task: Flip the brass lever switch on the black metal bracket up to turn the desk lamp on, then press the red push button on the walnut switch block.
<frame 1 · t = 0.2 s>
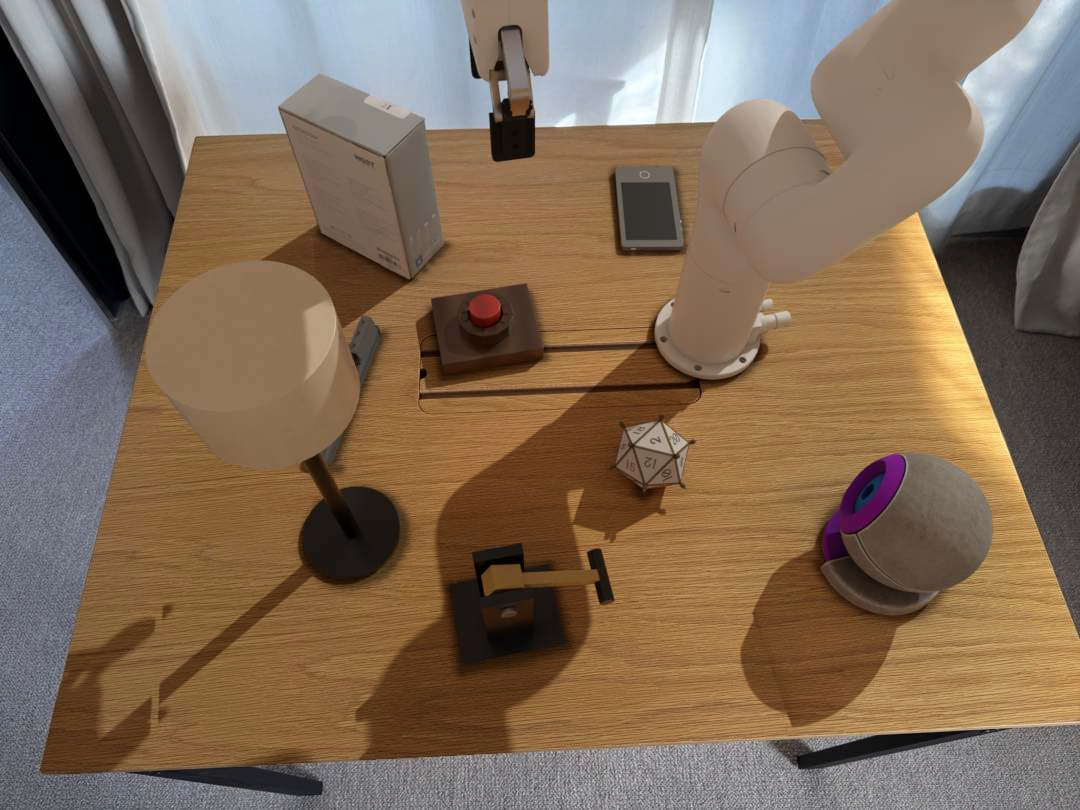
hand: (501, 114, 59), 37 cm above the table, tool pointing down, fingers open, 9 cm apart
red push button: (485, 310, 90), point 4 cm above the table, slide at 0.1 cm
switch bracket: (506, 616, 76), on the table
hard drive box: (382, 240, 102), on the table
lamp switch: (549, 579, 69), point 9 cm above the table, hinge at -25.0°
smartphone: (647, 210, 104), on the table
game die: (646, 472, 84), on the table
button block: (487, 333, 94), on the table
grey long bar: (351, 399, 89), on the table
desk lamp: (354, 536, 80), on the table
webcam: (878, 554, 80), on the table
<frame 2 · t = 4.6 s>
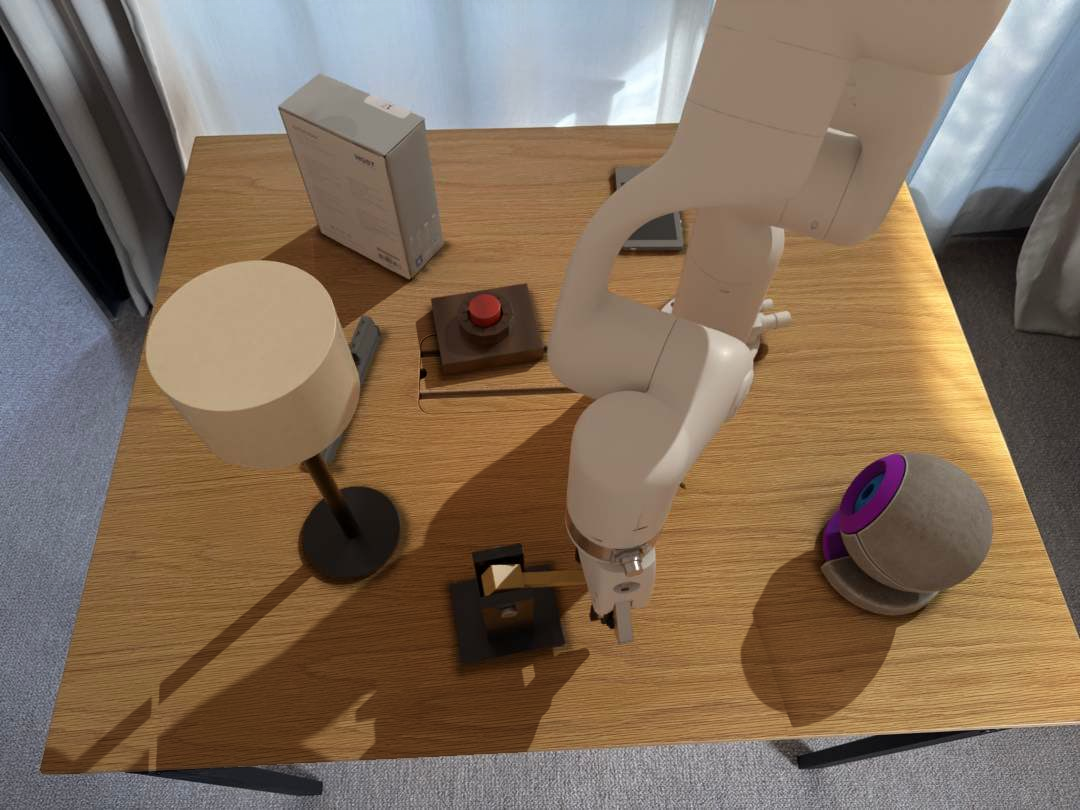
hand: (598, 585, 73), 4 cm above the table, tool pointing down, fingers closed on lamp switch, 5 cm apart
lamp switch: (549, 579, 69), point 9 cm above the table, hinge at -25.0°, touching gripper
everything else where it was.
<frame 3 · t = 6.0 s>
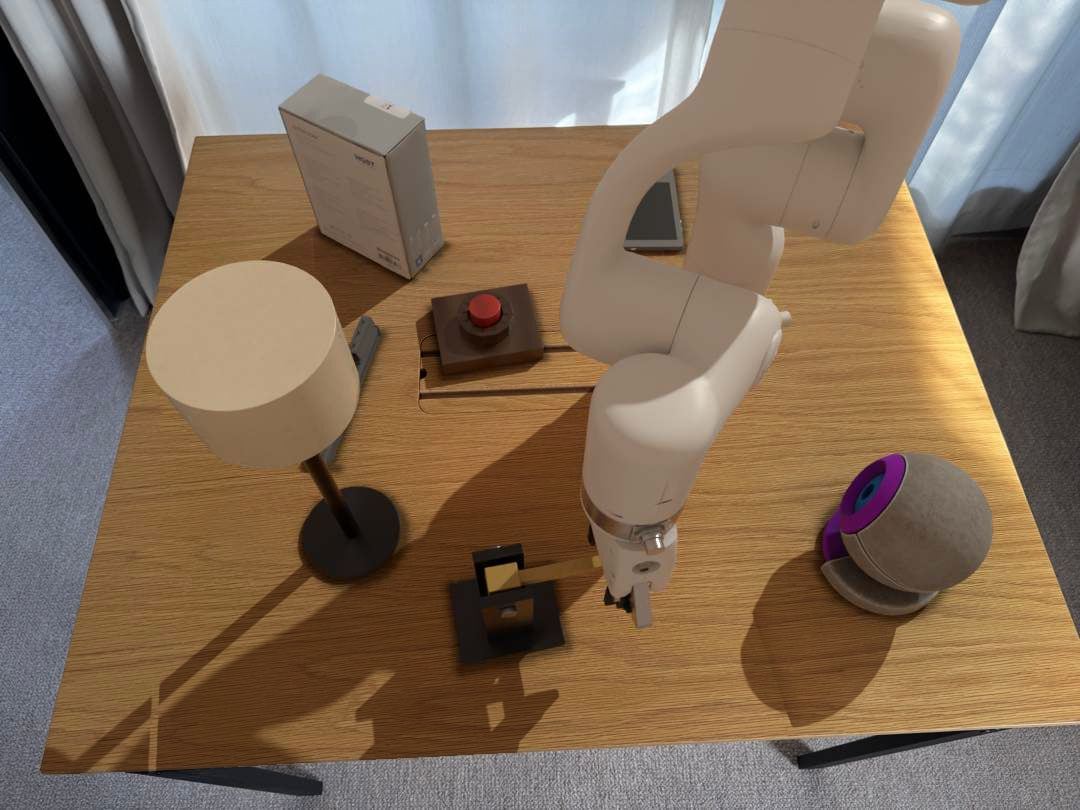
hand: (612, 567, 70), 8 cm above the table, tool pointing down, fingers closed on lamp switch, 5 cm apart
lamp switch: (555, 571, 67), point 11 cm above the table, hinge at -1.5°, touching gripper
everything else where it was.
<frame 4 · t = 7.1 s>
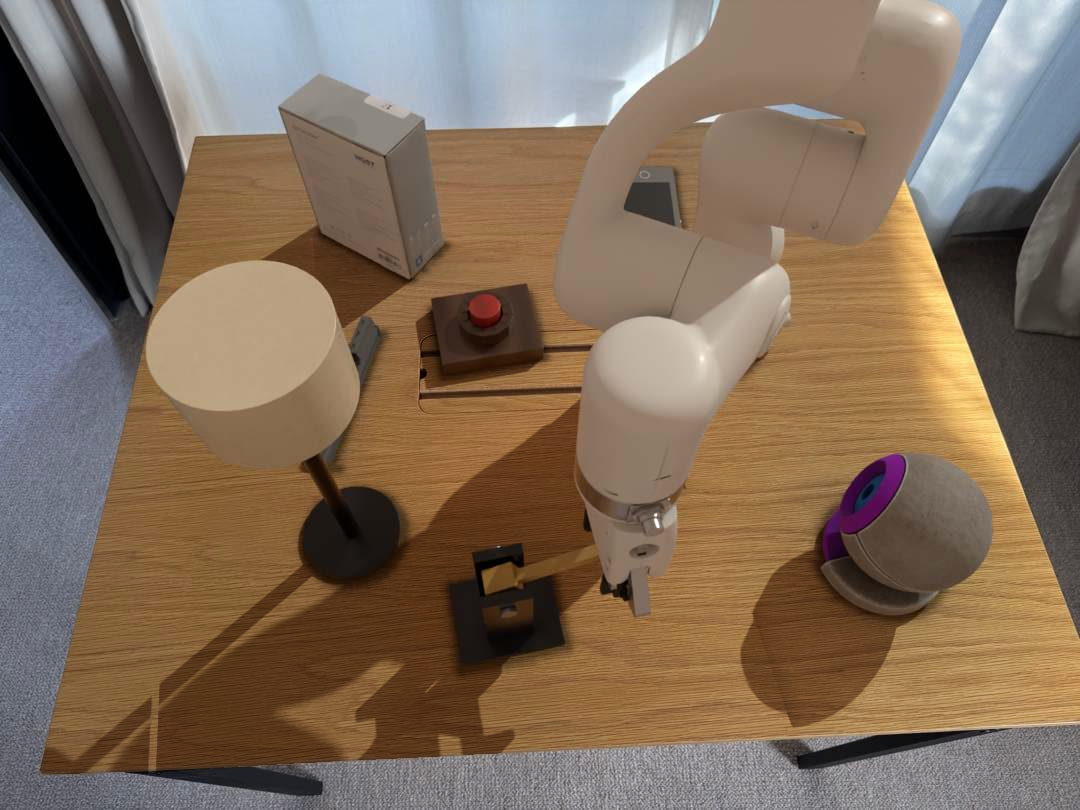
hand: (609, 555, 67), 12 cm above the table, tool pointing down, fingers closed on lamp switch, 5 cm apart
lamp switch: (552, 565, 66), point 12 cm above the table, hinge at 18.4°, touching gripper
everything else where it was.
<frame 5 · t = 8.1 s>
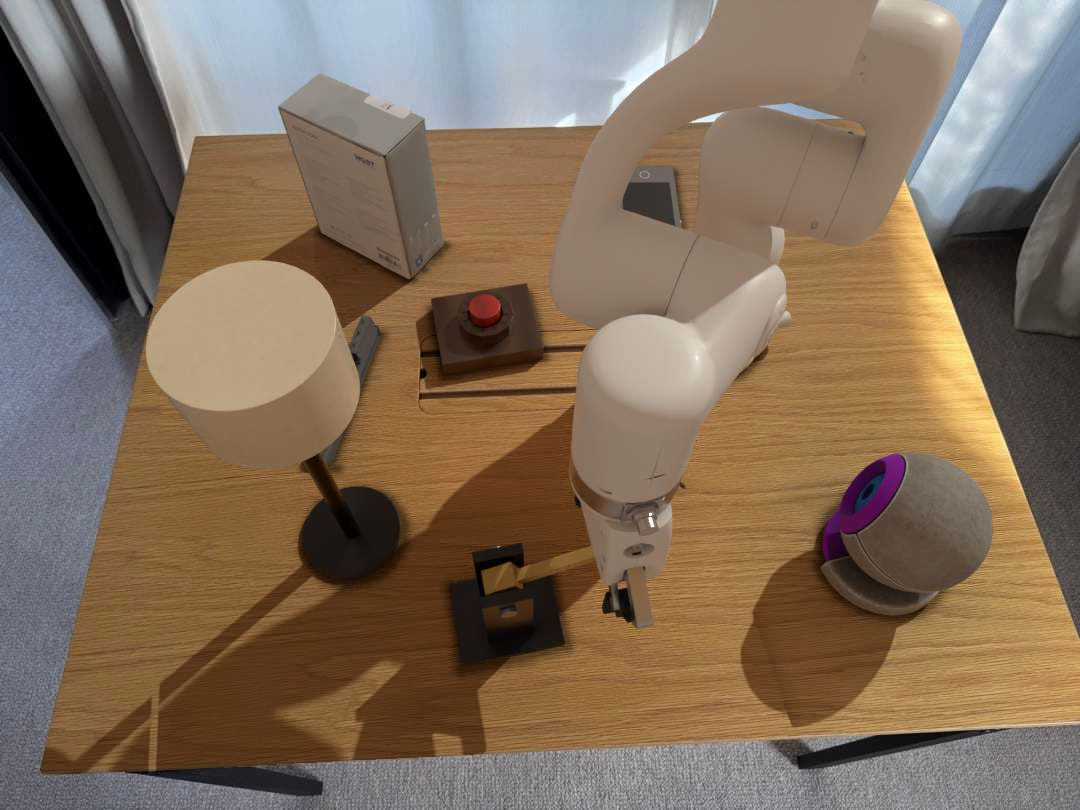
hand: (606, 552, 66), 13 cm above the table, tool pointing down, fingers open, 9 cm apart
lamp switch: (552, 565, 66), point 12 cm above the table, hinge at 18.1°
everything else where it was.
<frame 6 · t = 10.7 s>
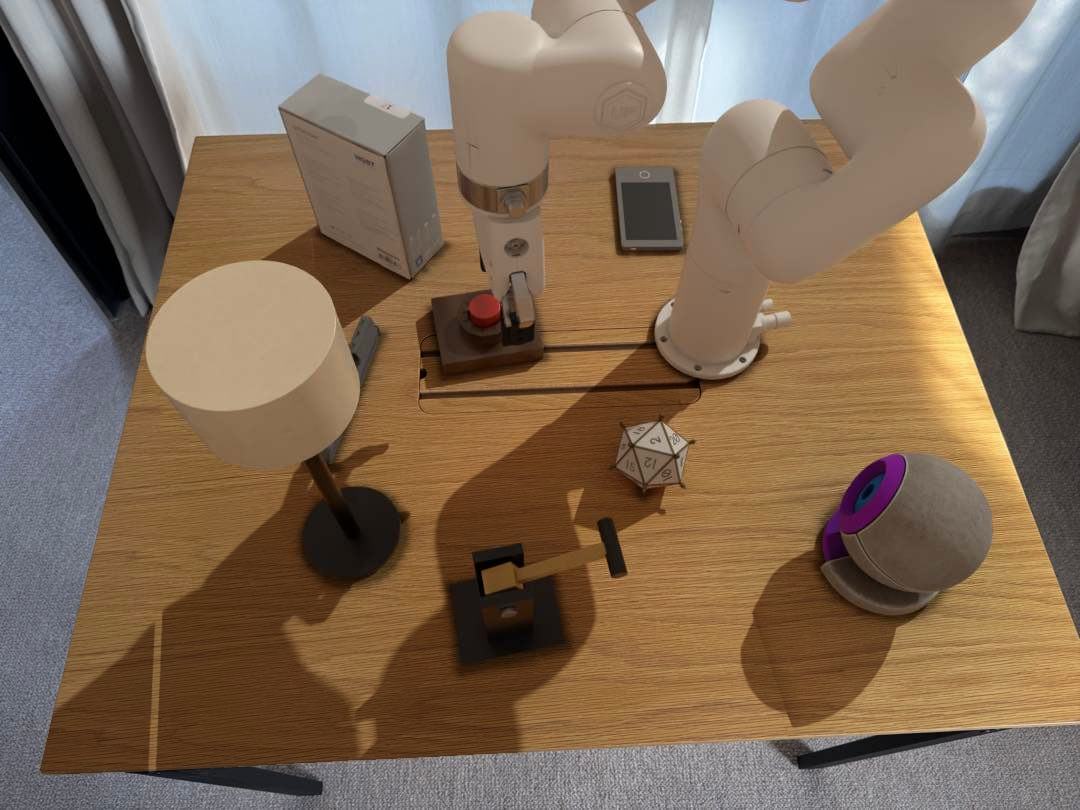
hand: (506, 303, 78), 15 cm above the table, tool pointing down, fingers open, 9 cm apart
nothing on the table moved.
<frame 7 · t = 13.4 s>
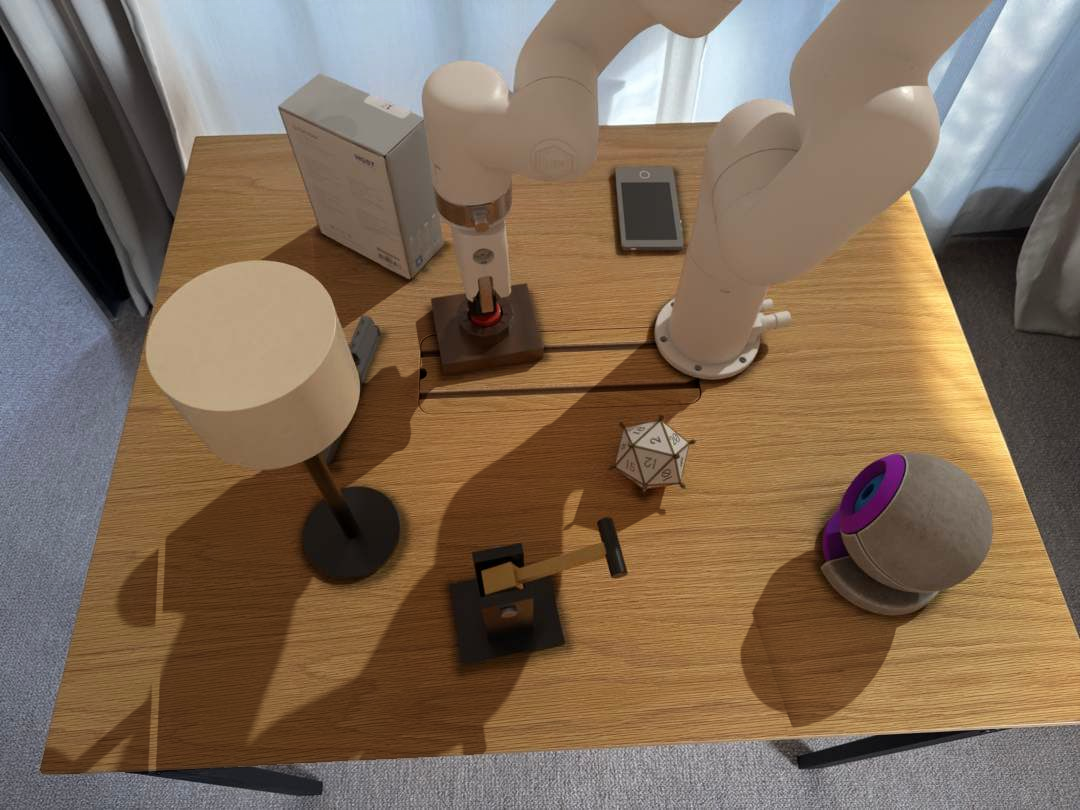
hand: (482, 309, 90), 5 cm above the table, tool pointing down, fingers closed
red push button: (485, 314, 90), point 4 cm above the table, slide at -0.6 cm, touching gripper
everything else where it was.
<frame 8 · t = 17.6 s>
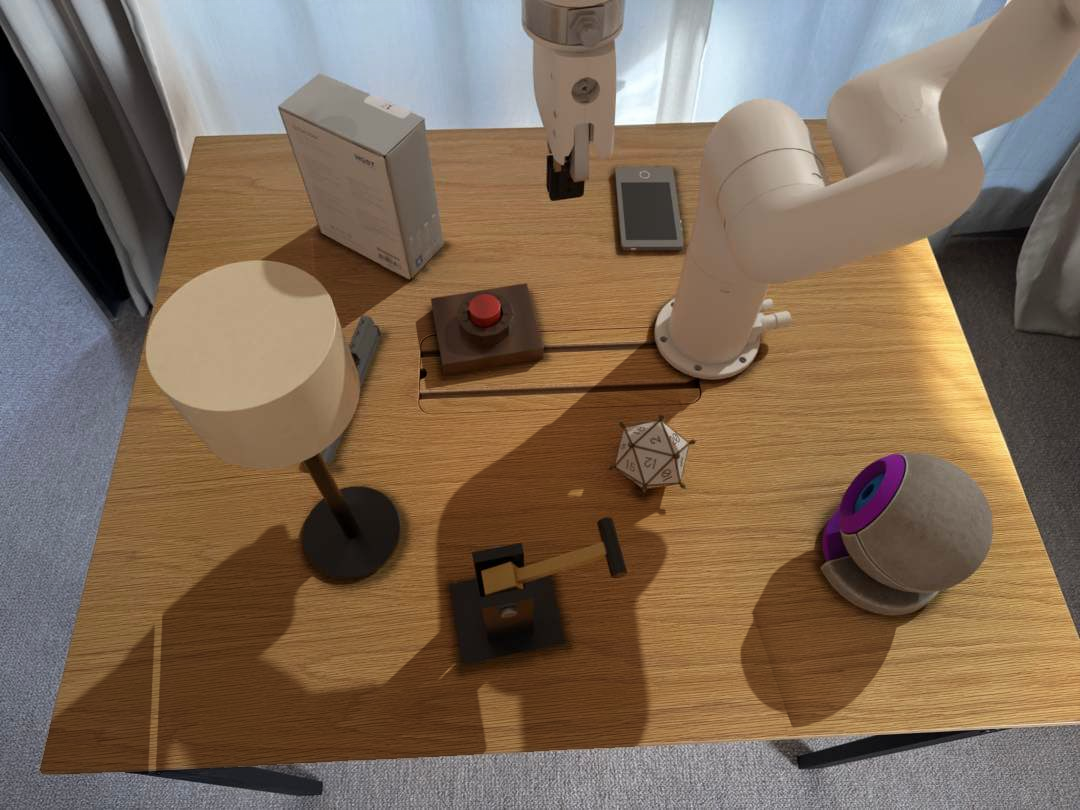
hand: (564, 192, 71), 25 cm above the table, tool pointing down, fingers closed
red push button: (485, 310, 90), point 4 cm above the table, slide at 0.1 cm
everything else where it was.
at the end: lamp switch at +18° (first picture: -25°); red push button pushed in 1.1 cm at the most during the clip, back to where it started at the end; red push button slide at 0.1 cm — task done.
